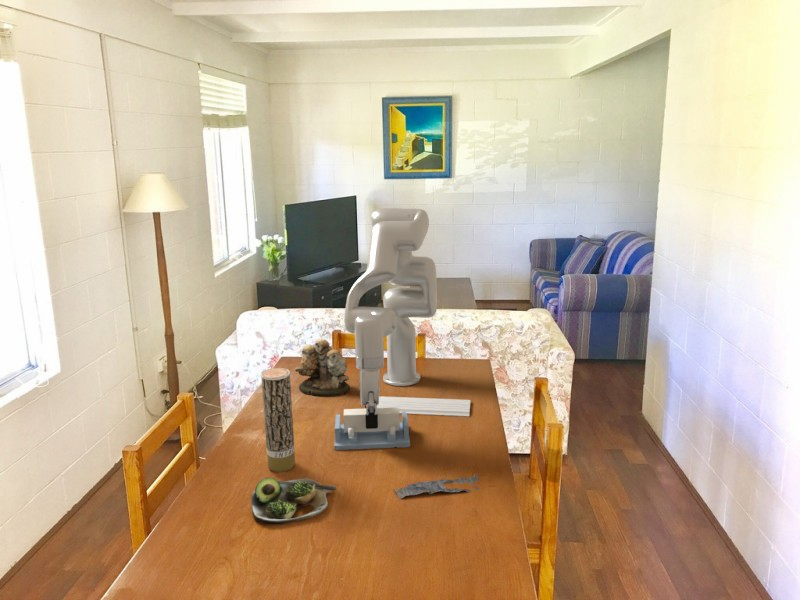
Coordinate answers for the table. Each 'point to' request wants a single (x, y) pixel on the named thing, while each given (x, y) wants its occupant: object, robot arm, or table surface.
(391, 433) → the rack
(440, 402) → the grooved white panel
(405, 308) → the robot arm
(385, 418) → the clay bar
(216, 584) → the table surface
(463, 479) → the driftwood
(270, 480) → the salad plate
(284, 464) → the paper tube
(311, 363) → the owl figurine
